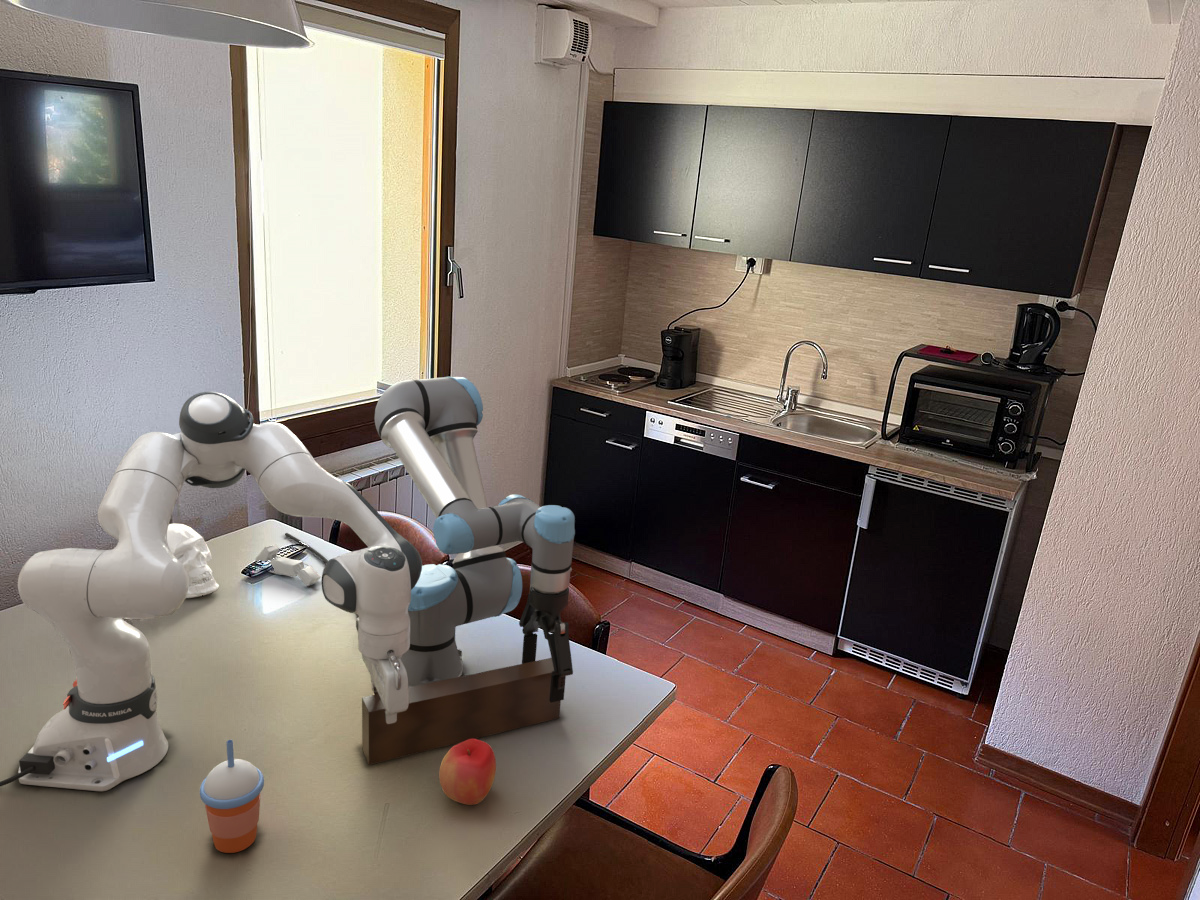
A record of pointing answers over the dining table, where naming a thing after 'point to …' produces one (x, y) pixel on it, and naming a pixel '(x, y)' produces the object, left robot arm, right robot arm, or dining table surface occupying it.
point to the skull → (192, 558)
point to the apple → (468, 771)
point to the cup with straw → (232, 802)
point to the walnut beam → (460, 710)
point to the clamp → (288, 566)
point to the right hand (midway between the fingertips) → (542, 681)
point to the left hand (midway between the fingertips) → (383, 706)
